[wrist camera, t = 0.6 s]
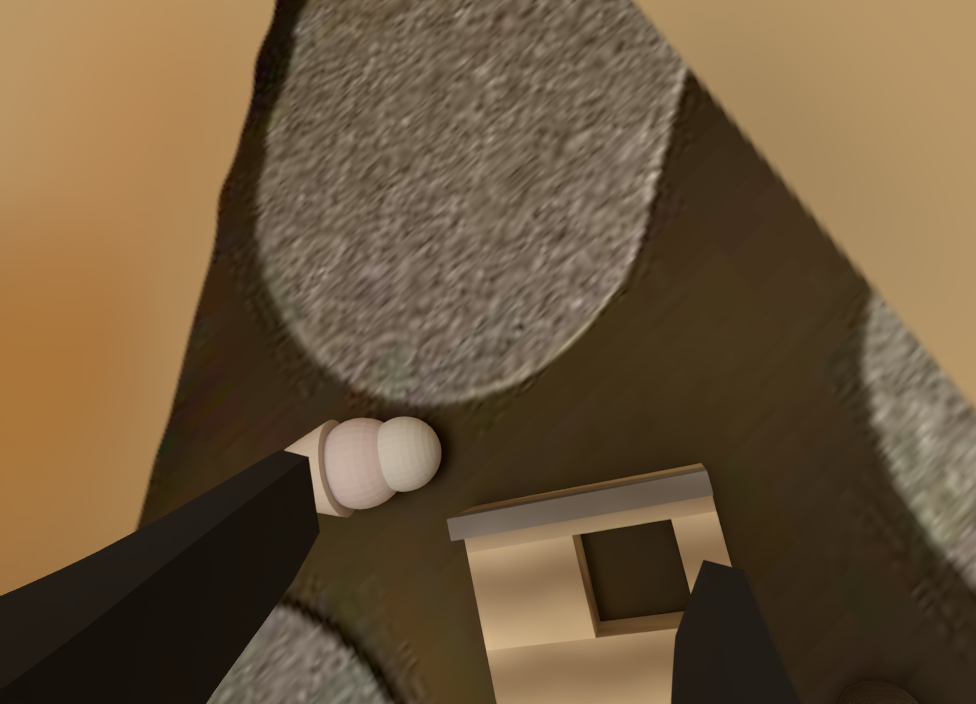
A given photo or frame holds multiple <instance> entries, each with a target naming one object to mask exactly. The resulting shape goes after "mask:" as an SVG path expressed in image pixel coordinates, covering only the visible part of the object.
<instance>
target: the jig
mask: <svg viewBox="0 0 976 704" xmlns="http://www.w3.org/2000/svg"><path fill="white" fill-rule="evenodd" d="M712 495H714V494H713V491H712V487H711V483H710V480H709V476H708V473H707V470H706V469H705V467H704V466H703V465H702V464H701V463H699V464H694V465H688V466H683V467H678V468H673V469H667V470H662V471H657V472H652V473H647V474H641V475H636V476H631V477H626V478H620V479H615V480H610V481H605V482H599V483H594V484H589V485H584V486H578V487H573V488H568V489H563V490H558V491H552V492H547V493H542V494H537V495H531V496H526V497H521V498H516V499H510V500H505V501H500V502H495V503H490V504H484V505H479V506H474V507H471V508H469V509H467V510H465V511H463V512H461V513H459V514H457V515H455V516H453V517H450V518H448V519H447V523H448V528H449V533H450V538H451V541H455V540H461V539H464V540H465V545H466V550H467V555H468V560H469V565H470V570H471V575H472V580H473V585H474V590H475V596H476V601H477V606H478V611H479V616H480V621H481V626H482V631H483V636H484V641H485V646H486V651H487V656H488V661H489V666H490V672H491V677H492V682H493V687H494V692H495V697H496V702H497V704H671V691H672V674H673V660H674V646H675V635H676V633H677V630H678V627H679V624H680V622H681V619H682V616H683V614H684V611H682V612H674V613H666V614H658V615H650V616H642V617H634V618H626V619H618V620H610V621H602V622H600V617H599V613H598V609H597V605H596V600H595V596H594V592H593V587H592V583H591V579H590V574H589V570H588V566H587V562H586V557H585V553H584V549H583V544H582V540H581V536H580V534H584V533H590V532H596V531H602V530H608V529H614V528H620V527H626V526H632V525H638V524H644V523H650V522H656V521H661V520H667V519H671V520H672V524H673V528H674V532H675V535H676V539H677V543H678V547H679V551H680V555H681V558H682V562H683V566H684V570H685V574H686V578H687V581H688V585H689V589H690V593H691V592H692V589H693V587H694V584H695V581H696V578H697V576H698V573H699V570H700V568H701V565H702V562H703V560H707V561H711V562H714V563H718V564H722V565H726V566H730V567H732V566H731V562H730V559H729V555H728V552H727V548H726V544H725V541H724V537H723V533H722V530H721V526H720V523H719V519H718V515H717V512H716V508H715V505H714V501H713V497H712Z"/></svg>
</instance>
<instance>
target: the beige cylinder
mask: <svg viewBox="0 0 976 704" xmlns="http://www.w3.org/2000/svg"><path fill="white" fill-rule="evenodd" d="M837 704H918V702H917V701H916V700H915V699H914V698H913V697H912V696H911V695H910V694H909V693H908V692H906V691H905V690H904V689H902V688H900V687H899V686H897V685H895V684H892V683H890V682H887V681H883V680H876V679H867V680H861V681H858V682H855V683H853V684H851V685H850V686H848V687H847V688H846V689H845V690H844V691H843V692H842V693H841V695H840V696H839V698H838V701H837Z"/></svg>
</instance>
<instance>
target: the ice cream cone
mask: <svg viewBox="0 0 976 704" xmlns="http://www.w3.org/2000/svg"><path fill="white" fill-rule="evenodd" d="M285 451H289V452H292V453H296V454H300V455H304V456H308V457H309V462H310V469H311V476H312V483H313V490H314V497H315V503H316V510H317V512H318V513H324V514H329V515H335V516H341V517H349V516H351V515H352V514H353V513H354V511H355V509H368V508H371V507H375V506H378V505H380V504H382V503H384V502H385V501H387V500H388V499H389V498H391V497H392V496H393V495H394V494H395V493H396V492H397V491H400V492H405V491H412V490H415V489H418V488H420V487H422V486H424V485H425V484H426V483H428V482H429V481H430V480H431V479H432V477H433V476H434V475H435V473H436V472H437V470H438V467H439V465H440V461H441V445H440V442H439V439H438V437H437V435H436V433H435V432H434V431H433V429H432V428H431V427H430V426H429V425H427V424H426V423H425V422H423V421H421V420H419V419H416V418H413V417H396V418H393V419H390V420H389V421H387V422H385V423H383V422H381V421H379V420H375V419H370V418H356V419H351V420H348V421H345V422H343V423H341V424H340V423H339V422H338V421H336V420H329V421H327V422H326V423H324V424H323V425H321V426H320V427H318V428H316V429H315V430H313V431H312V432H310V433H309V434H307V435H306V436H304V437H303V438H301V439H300V440H298V441H297V442H295V443H294V444H292V445H291V446H289V447H288V448H286V449H285Z"/></svg>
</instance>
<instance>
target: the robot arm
mask: <svg viewBox="0 0 976 704" xmlns="http://www.w3.org/2000/svg"><path fill="white" fill-rule="evenodd" d="M319 532H320V531H319V524H318V517H317V510H316V503H315V497H314V490H313V483H312V476H311V469H310V462H309V457H308V456H304V455H300V454H296V453H292V452H289V451H285V450H279V451H277V452H275V453H273V454H272V455H270V456H268V457H266V458H264V459H263V460H261V461H259V462H257V463H256V464H254V465H252V466H250V467H249V468H247V469H245V470H244V471H242V472H240V473H239V474H237V475H235V476H233V477H232V478H230V479H228V480H227V481H225V482H223V483H221V484H220V485H218V486H216V487H215V488H213V489H211V490H209V491H208V492H206V493H204V494H202V495H201V496H199V497H197V498H195V499H194V500H192V501H190V502H188V503H187V504H185V505H183V506H181V507H180V508H178V509H176V510H174V511H173V512H171V513H169V514H167V515H166V516H164V517H162V518H160V519H158V520H157V521H155V522H153V523H151V524H149V525H147V526H145V527H143V528H141V529H139V530H138V531H136V532H134V533H132V534H130V535H128V536H126V537H124V538H122V539H120V540H119V541H117V542H115V543H113V544H111V545H109V546H107V547H105V548H103V549H102V550H100V551H98V552H96V553H94V554H92V555H90V556H88V557H86V558H84V559H82V560H79V561H78V562H75V563H73V564H71V565H69V566H67V567H65V568H63V569H61V570H58V571H56V572H54V573H52V574H49V575H47V576H45V577H43V578H41V579H38V580H36V581H34V582H32V583H30V584H27V585H25V586H23V587H21V588H18V589H16V590H14V591H11V592H9V593H7V594H4V595H2V596H0V704H206V703H207V701H208V700H209V698H210V697H211V695H212V694H213V692H214V691H215V690H216V688H217V687H218V685H219V684H220V683H221V681H222V680H223V678H224V677H225V676H226V674H227V673H228V671H229V670H230V669H231V667H232V666H233V664H234V663H235V662H236V660H237V659H238V658H239V656H240V655H241V653H242V652H243V651H244V649H245V648H246V646H247V645H248V644H249V642H250V641H251V639H252V638H253V637H254V635H255V634H256V633H257V631H258V630H259V628H260V627H261V626H262V624H263V623H264V621H265V620H266V619H267V617H268V616H269V614H270V613H271V612H272V610H273V609H274V607H275V606H276V604H277V603H278V602H279V600H280V599H281V597H282V596H283V595H284V593H285V592H286V590H287V589H288V587H289V586H290V584H291V583H292V582H293V580H294V578H295V576H296V575H297V573H298V571H299V569H300V568H301V566H302V564H303V562H304V561H305V559H306V557H307V555H308V553H309V551H310V549H311V547H312V546H313V544H314V542H315V540H316V538H317V536H318V534H319ZM671 704H803V702H802V700H801V698H800V696H799V693H798V691H797V689H796V687H795V685H794V683H793V681H792V679H791V677H790V674H789V672H788V670H787V668H786V666H785V664H784V661H783V659H782V657H781V655H780V652H779V650H778V648H777V645H776V643H775V641H774V639H773V636H772V634H771V632H770V629H769V627H768V625H767V622H766V620H765V617H764V615H763V613H762V610H761V608H760V605H759V603H758V600H757V598H756V595H755V593H754V590H753V588H752V585H751V582H750V580H749V577H748V576H747V574H746V573H745V571H744V570H741V569H737V568H734V567H730V566H726V565H722V564H718V563H714V562H711V561H707V560H703V562H702V565H701V568H700V570H699V573H698V576H697V578H696V581H695V584H694V587H693V589H692V592H691V595H690V597H689V600H688V603H687V606H686V608H685V611H684V614H683V616H682V619H681V622H680V624H679V627H678V630H677V633H676V635H675V646H674V660H673V674H672V691H671Z"/></svg>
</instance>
